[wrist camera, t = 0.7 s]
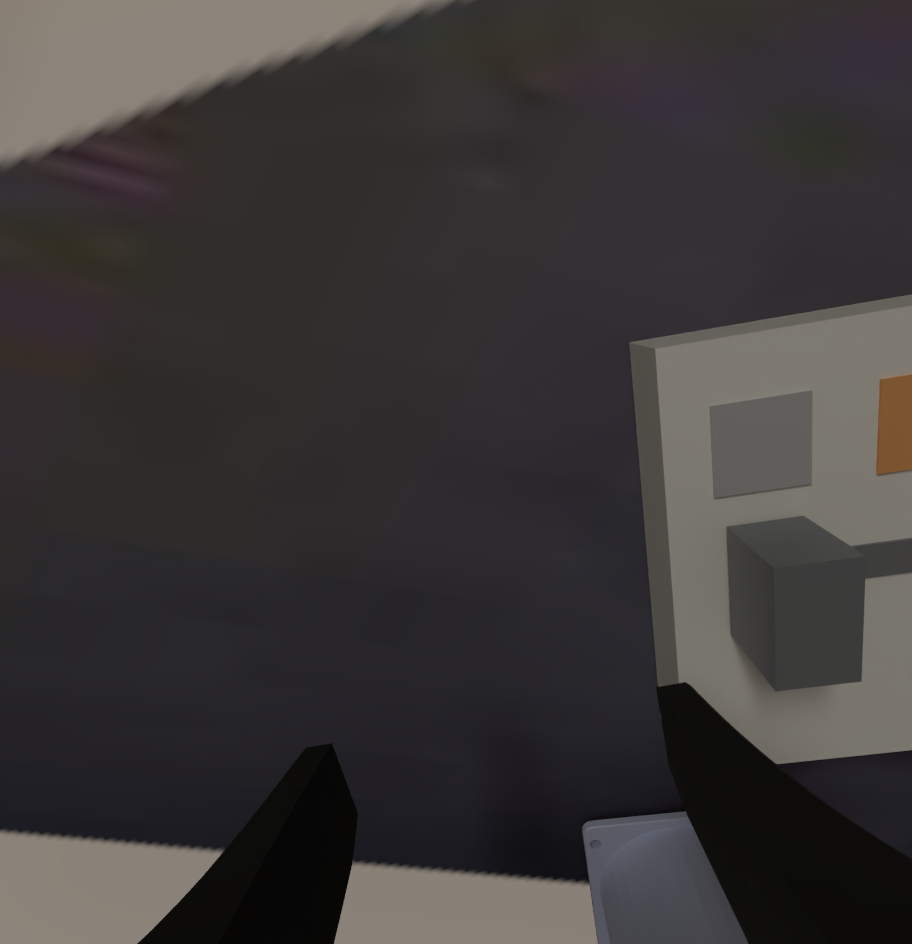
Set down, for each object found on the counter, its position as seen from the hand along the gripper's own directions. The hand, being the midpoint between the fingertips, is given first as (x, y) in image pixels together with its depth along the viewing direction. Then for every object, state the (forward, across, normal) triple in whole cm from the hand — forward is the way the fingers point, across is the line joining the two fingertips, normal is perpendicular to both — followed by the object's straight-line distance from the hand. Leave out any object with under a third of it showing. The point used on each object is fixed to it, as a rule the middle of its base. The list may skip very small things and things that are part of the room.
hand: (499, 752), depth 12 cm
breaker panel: (+10, -13, +2) cm, 17 cm away
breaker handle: (+7, -9, +2) cm, 12 cm away
